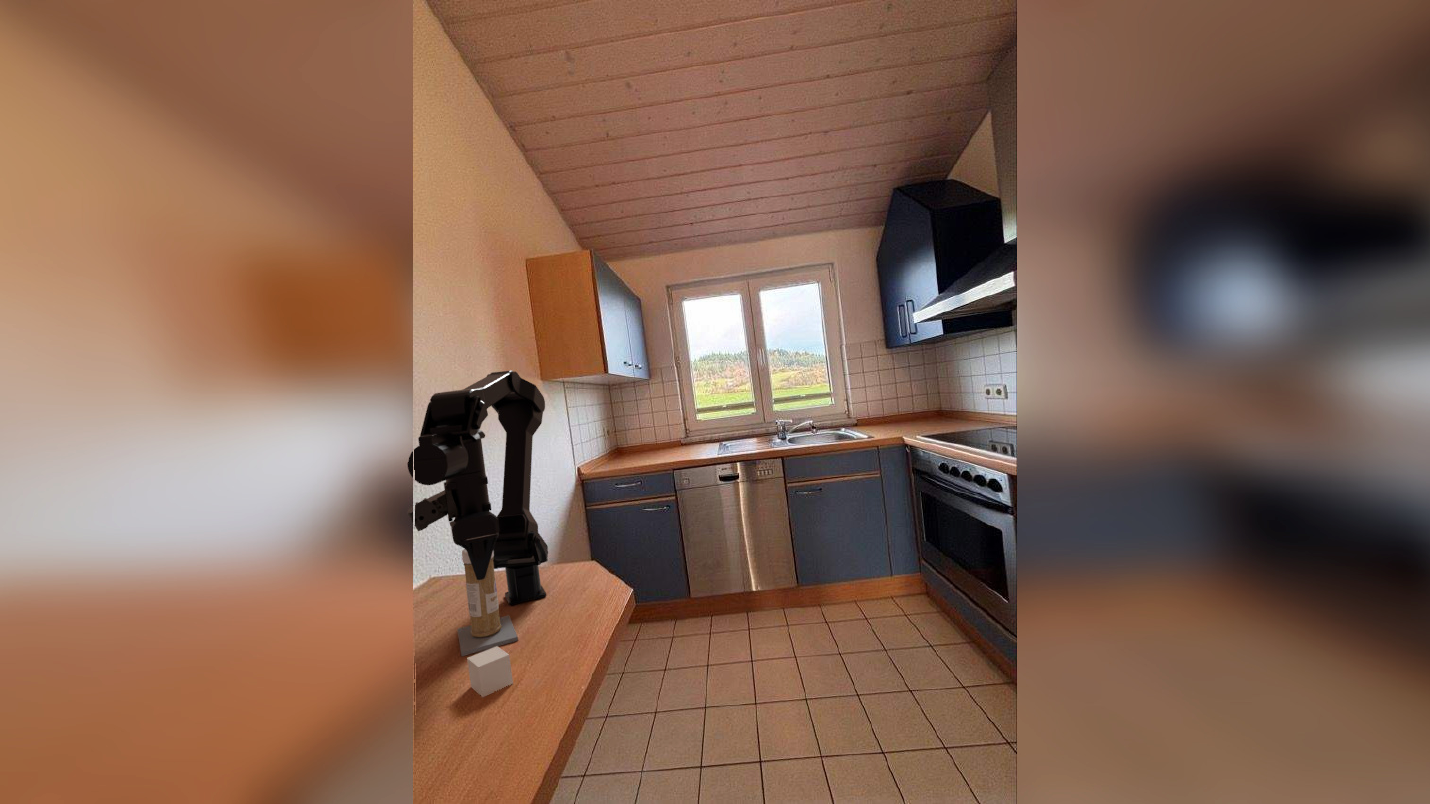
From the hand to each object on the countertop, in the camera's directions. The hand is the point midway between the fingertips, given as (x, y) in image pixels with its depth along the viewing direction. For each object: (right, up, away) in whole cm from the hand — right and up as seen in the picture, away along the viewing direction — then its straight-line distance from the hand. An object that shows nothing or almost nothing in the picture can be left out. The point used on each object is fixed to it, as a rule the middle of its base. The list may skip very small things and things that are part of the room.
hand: (478, 571), depth 94 cm
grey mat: (+1, -10, +1) cm, 10 cm away
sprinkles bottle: (+1, -10, +1) cm, 10 cm away
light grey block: (+8, -11, -15) cm, 20 cm away
